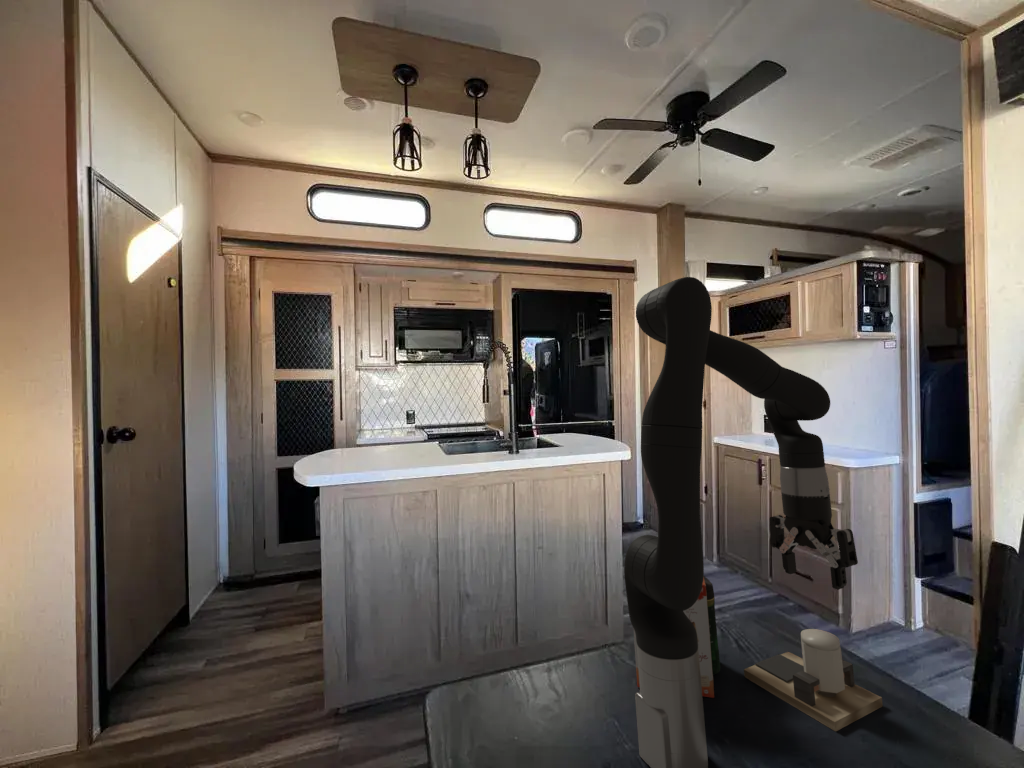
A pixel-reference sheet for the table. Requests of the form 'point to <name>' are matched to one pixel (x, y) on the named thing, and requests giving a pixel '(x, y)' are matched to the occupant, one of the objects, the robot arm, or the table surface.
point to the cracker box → (701, 624)
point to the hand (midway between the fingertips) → (813, 580)
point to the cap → (823, 659)
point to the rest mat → (780, 667)
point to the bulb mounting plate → (819, 695)
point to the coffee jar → (712, 627)
